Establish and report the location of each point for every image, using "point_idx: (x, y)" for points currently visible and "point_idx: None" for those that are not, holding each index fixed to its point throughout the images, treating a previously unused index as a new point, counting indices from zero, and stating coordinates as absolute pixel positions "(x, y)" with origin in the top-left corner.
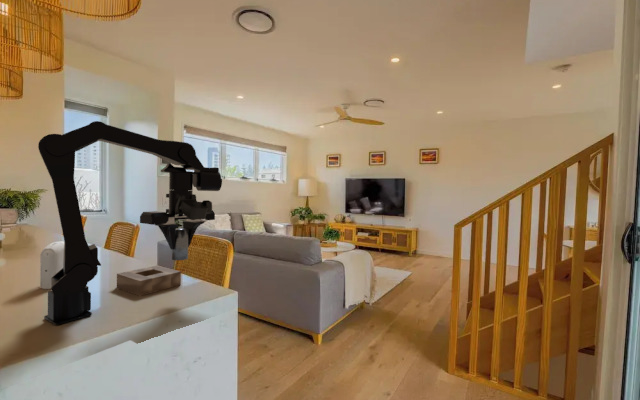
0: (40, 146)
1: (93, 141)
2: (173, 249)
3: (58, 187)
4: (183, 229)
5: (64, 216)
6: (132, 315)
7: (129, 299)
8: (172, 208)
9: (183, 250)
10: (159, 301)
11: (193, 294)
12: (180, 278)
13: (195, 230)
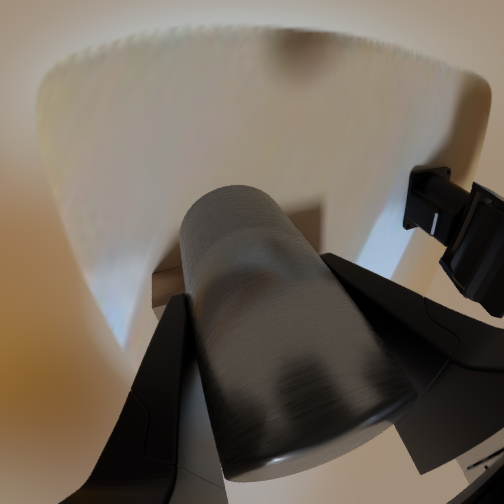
0: None
1: None
2: (322, 255)
3: None
4: (327, 437)
5: None
6: (371, 100)
7: (321, 226)
8: None
9: (255, 218)
10: (277, 150)
11: (155, 141)
12: (153, 288)
13: (107, 447)
